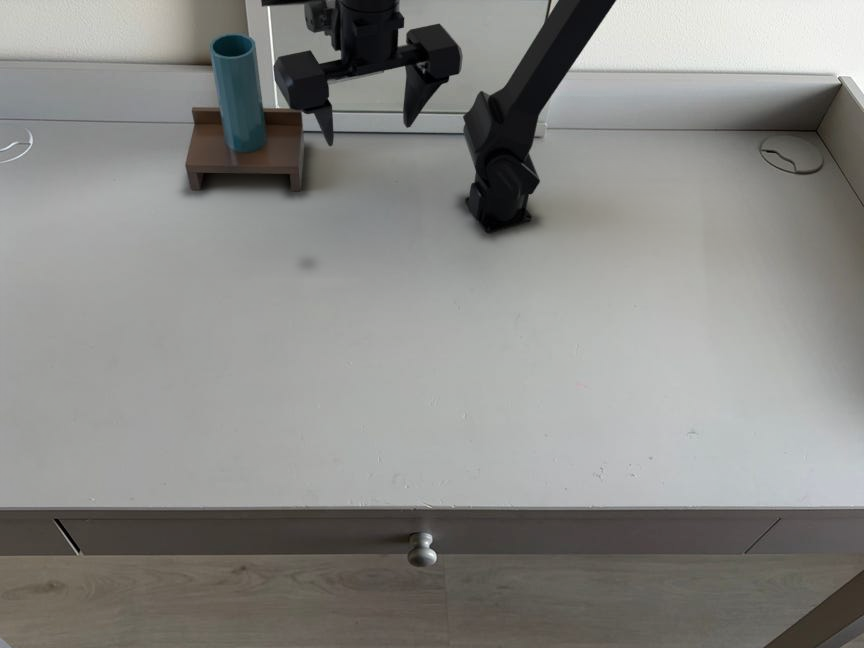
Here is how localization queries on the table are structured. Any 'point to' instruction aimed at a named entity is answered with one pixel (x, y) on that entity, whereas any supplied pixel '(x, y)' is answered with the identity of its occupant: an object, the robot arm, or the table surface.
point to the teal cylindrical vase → (239, 91)
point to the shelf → (273, 157)
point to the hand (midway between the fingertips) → (368, 134)
